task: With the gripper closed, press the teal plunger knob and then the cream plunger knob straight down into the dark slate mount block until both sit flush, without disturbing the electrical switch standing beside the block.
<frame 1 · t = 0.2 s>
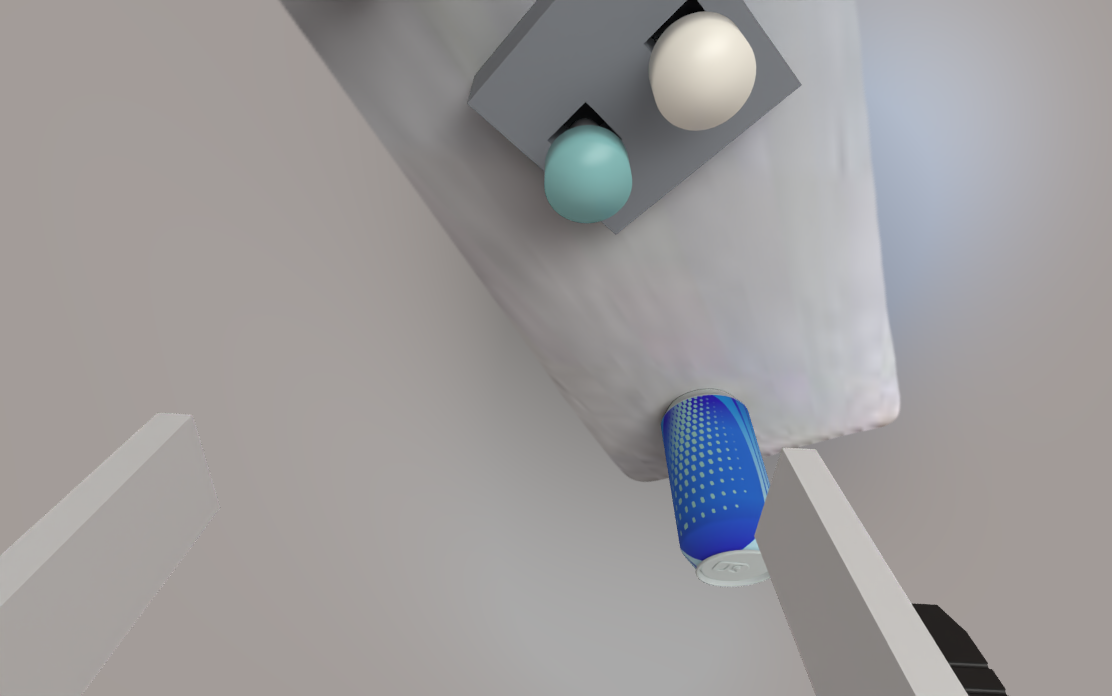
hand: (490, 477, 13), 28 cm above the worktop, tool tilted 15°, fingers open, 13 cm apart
mount block: (626, 66, 33), on the worktop
knob teal: (586, 159, 30), point 6 cm above the worktop, slide at 0.0 cm
knob cream: (693, 59, 27), point 6 cm above the worktop, slide at 0.0 cm
beer can: (701, 409, 56), on the worktop
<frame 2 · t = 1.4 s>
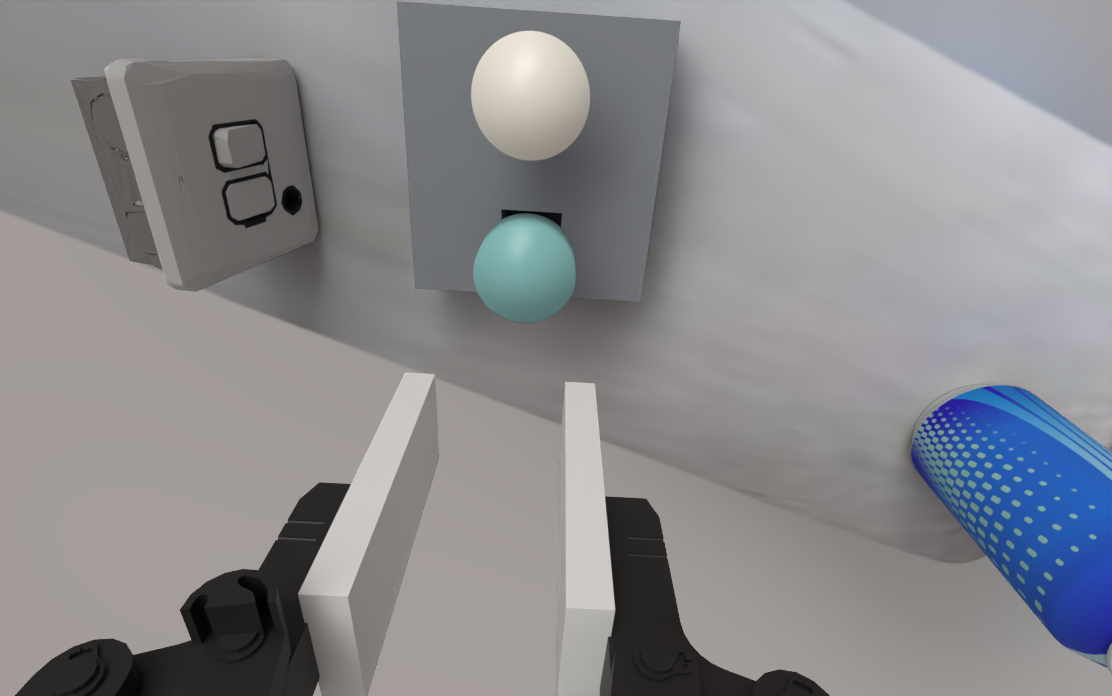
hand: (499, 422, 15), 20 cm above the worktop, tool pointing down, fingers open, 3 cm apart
mount block: (536, 155, 30), on the worktop
knob teal: (528, 255, 27), point 6 cm above the worktop, slide at 0.0 cm
electrical switch: (262, 155, 31), on the worktop
knob cream: (534, 93, 23), point 6 cm above the worktop, slide at 0.0 cm
beer can: (962, 424, 39), on the worktop
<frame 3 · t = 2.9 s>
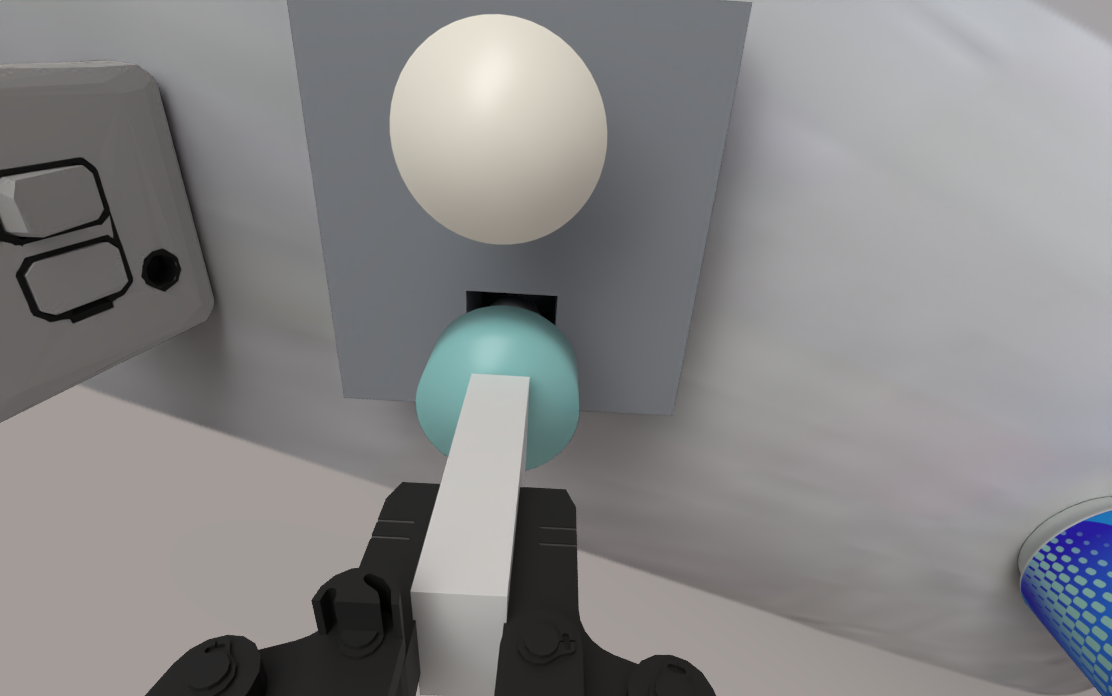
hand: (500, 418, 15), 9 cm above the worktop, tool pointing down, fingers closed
mount block: (521, 201, 21), on the worktop
knob teal: (506, 359, 18), point 6 cm above the worktop, slide at 0.5 cm, touching gripper
electrical switch: (126, 201, 21), on the worktop
knob cream: (509, 122, 14), point 6 cm above the worktop, slide at 0.0 cm
beer can: (1085, 542, 29), on the worktop
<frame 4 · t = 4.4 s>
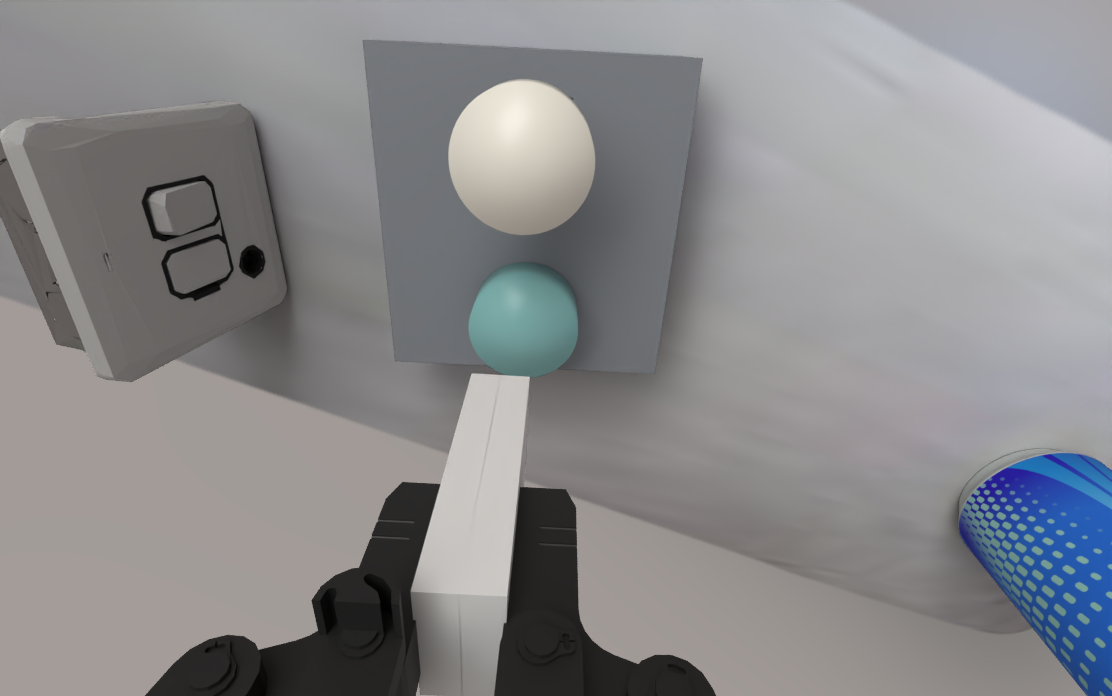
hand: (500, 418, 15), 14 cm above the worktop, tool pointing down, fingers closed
mount block: (533, 205, 26), on the worktop
knob teal: (527, 303, 25), point 3 cm above the worktop, slide at 2.8 cm
electrical switch: (221, 208, 27), on the worktop
knob cream: (527, 148, 19), point 6 cm above the worktop, slide at 0.0 cm
beer can: (1015, 490, 34), on the worktop
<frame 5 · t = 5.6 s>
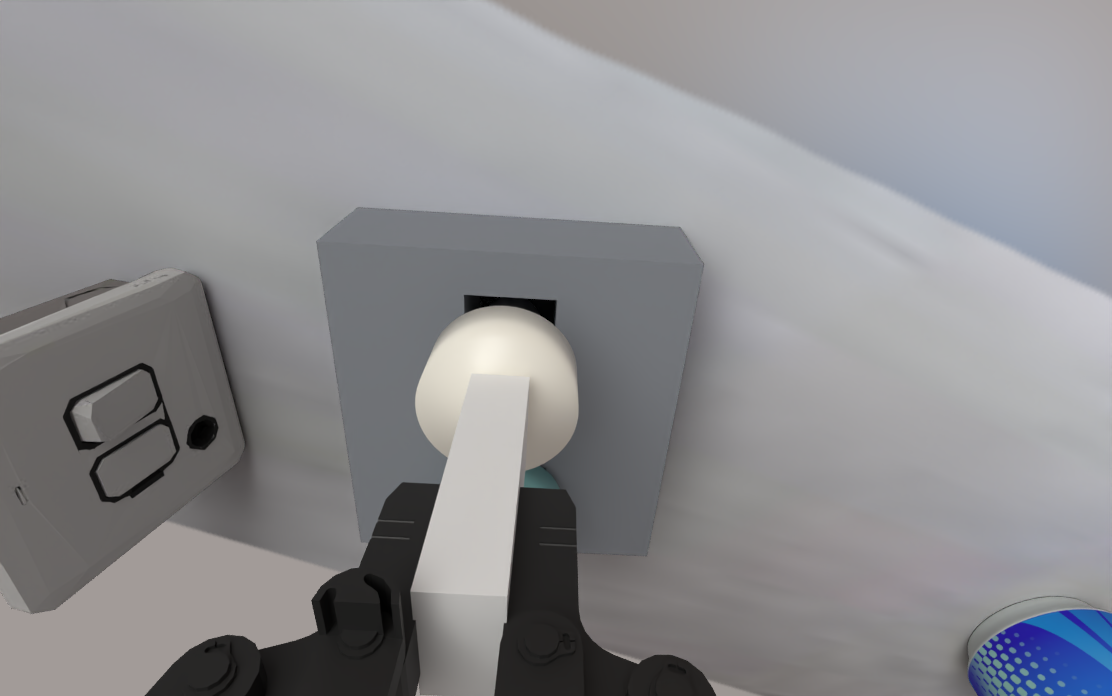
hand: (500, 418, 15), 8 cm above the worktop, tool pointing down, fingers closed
mount block: (515, 367, 24), on the worktop
knob teal: (507, 486, 23), point 3 cm above the worktop, slide at 2.8 cm
electrical switch: (169, 365, 24), on the worktop
knob cream: (505, 360, 18), point 5 cm above the worktop, slide at 0.8 cm, touching gripper
beer can: (1028, 632, 33), on the worktop
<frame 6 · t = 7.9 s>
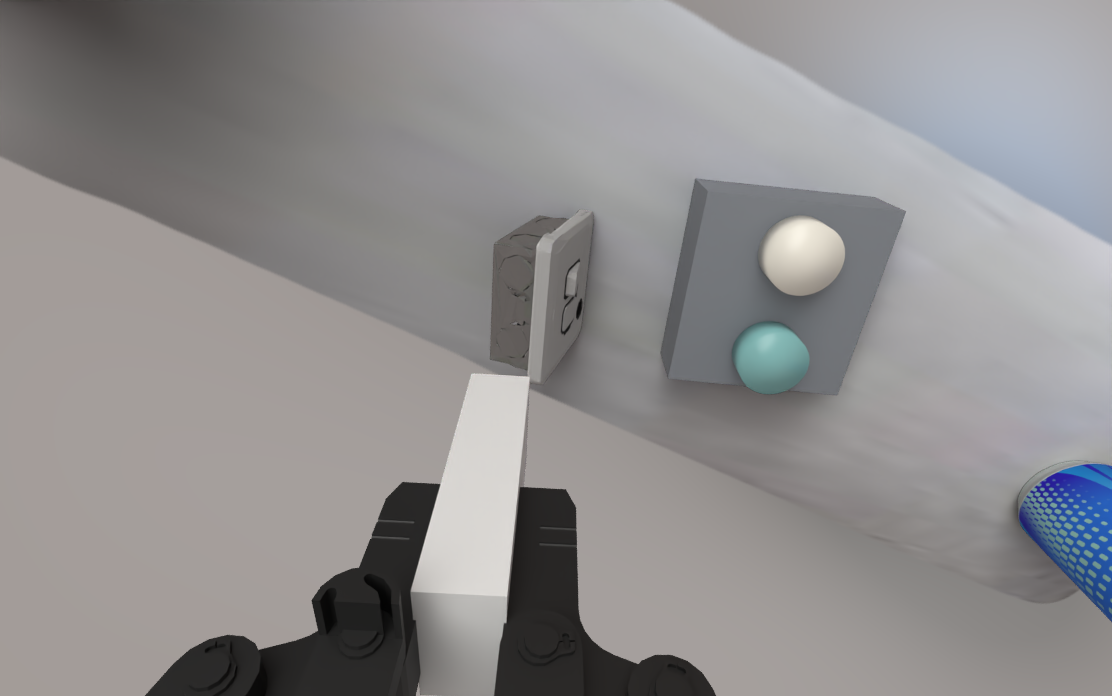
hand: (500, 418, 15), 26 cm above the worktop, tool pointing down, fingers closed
mount block: (760, 280, 40), on the worktop
knob teal: (761, 345, 39), point 3 cm above the worktop, slide at 2.8 cm
electrical switch: (550, 271, 41), on the worktop
knob cream: (790, 247, 36), point 3 cm above the worktop, slide at 2.8 cm
beer can: (1059, 491, 48), on the worktop
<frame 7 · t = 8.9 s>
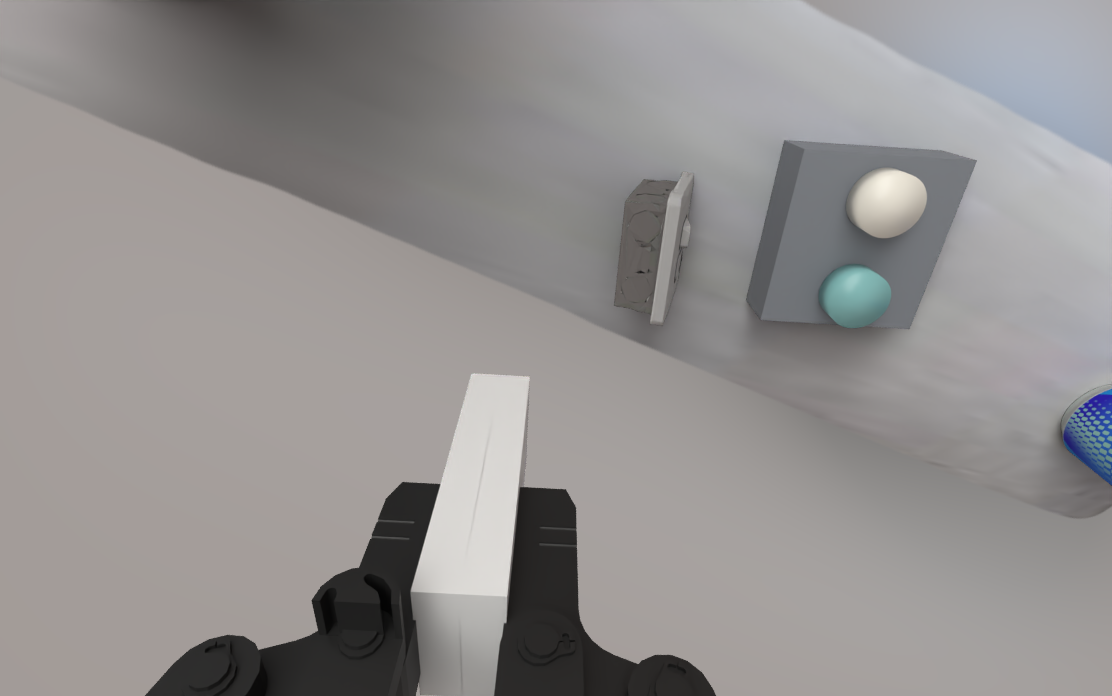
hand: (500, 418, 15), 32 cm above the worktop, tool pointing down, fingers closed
mount block: (837, 230, 45), on the worktop
knob teal: (843, 287, 44), point 3 cm above the worktop, slide at 2.8 cm
electrical switch: (650, 229, 46), on the worktop
knob cream: (873, 197, 41), point 3 cm above the worktop, slide at 2.8 cm
beer can: (1098, 413, 54), on the worktop
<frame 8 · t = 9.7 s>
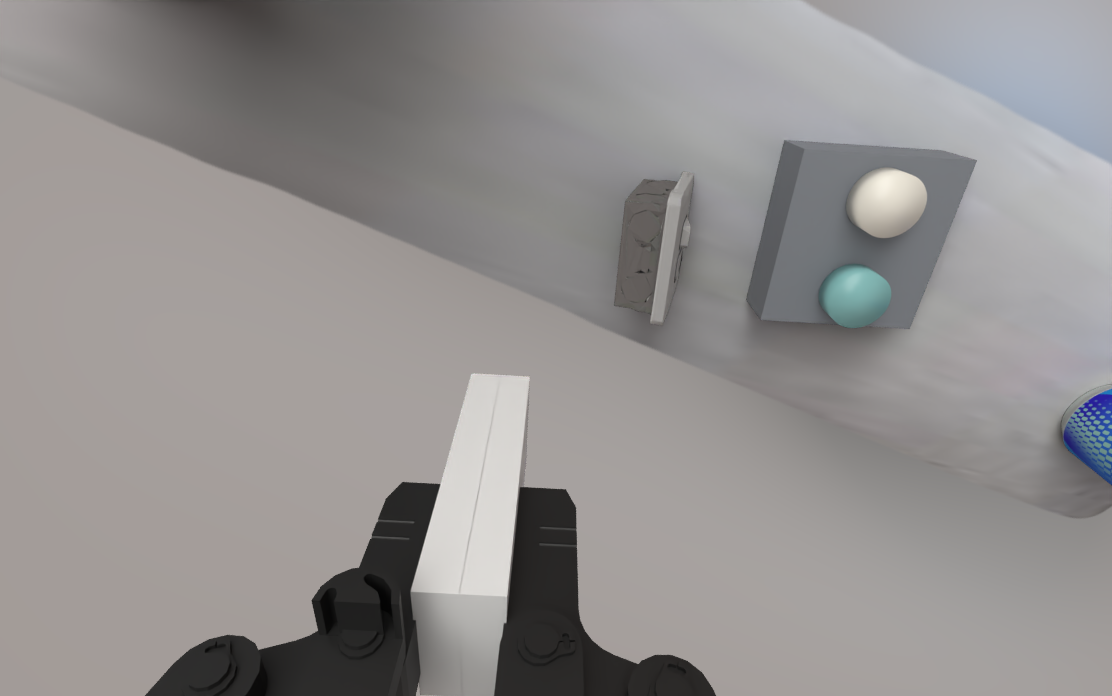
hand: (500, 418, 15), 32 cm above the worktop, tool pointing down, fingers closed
mount block: (838, 230, 45), on the worktop
knob teal: (843, 287, 44), point 3 cm above the worktop, slide at 2.8 cm
electrical switch: (650, 229, 46), on the worktop
knob cream: (873, 196, 41), point 3 cm above the worktop, slide at 2.8 cm
beer can: (1098, 413, 54), on the worktop
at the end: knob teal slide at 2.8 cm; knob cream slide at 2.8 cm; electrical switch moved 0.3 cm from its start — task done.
